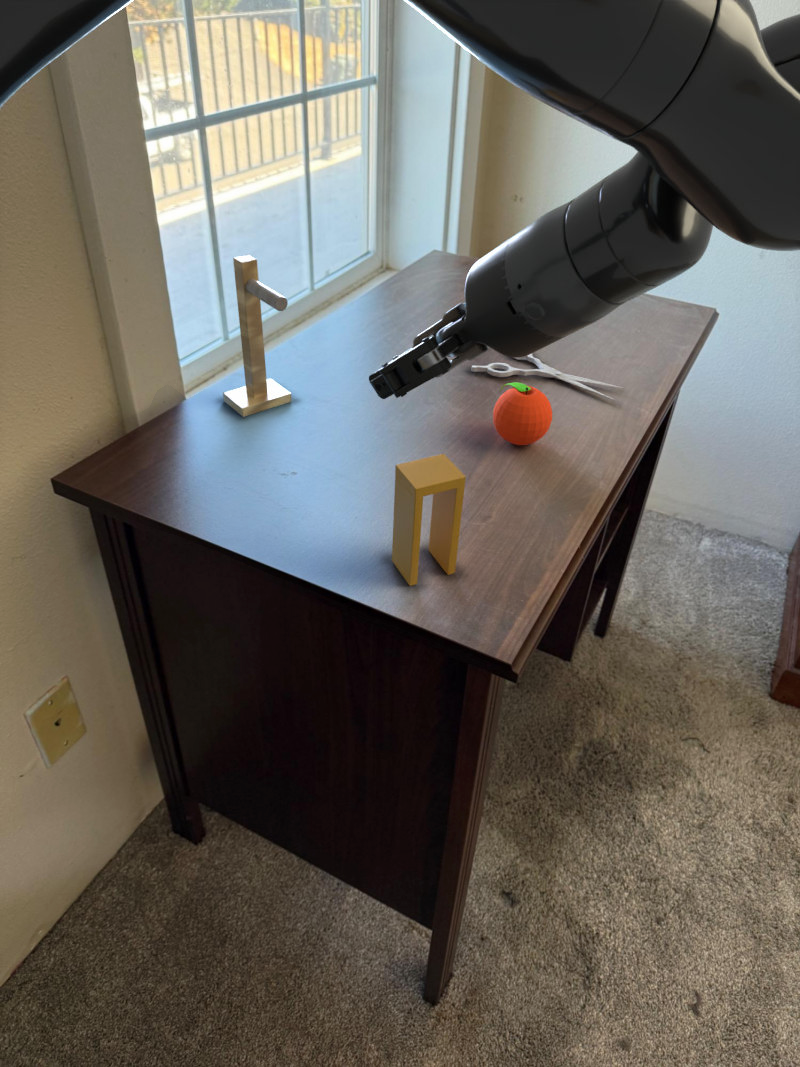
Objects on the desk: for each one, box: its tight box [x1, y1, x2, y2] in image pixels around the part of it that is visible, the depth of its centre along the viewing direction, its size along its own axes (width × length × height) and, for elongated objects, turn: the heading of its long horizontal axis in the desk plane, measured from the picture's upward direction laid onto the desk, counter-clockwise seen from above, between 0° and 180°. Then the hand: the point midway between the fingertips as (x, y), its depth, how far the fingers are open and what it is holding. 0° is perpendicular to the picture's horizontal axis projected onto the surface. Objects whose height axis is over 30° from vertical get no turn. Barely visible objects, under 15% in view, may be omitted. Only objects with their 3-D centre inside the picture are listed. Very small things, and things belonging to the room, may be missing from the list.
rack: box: [222, 254, 293, 418], centre depth 88 cm, size 7×10×18 cm
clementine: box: [492, 381, 553, 446], centre depth 88 cm, size 8×7×7 cm
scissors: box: [471, 353, 624, 401], centre depth 103 cm, size 11×1×20 cm
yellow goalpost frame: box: [391, 453, 467, 587], centre depth 68 cm, size 5×4×11 cm
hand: (409, 363), depth 63 cm, fingers open, 8 cm apart
